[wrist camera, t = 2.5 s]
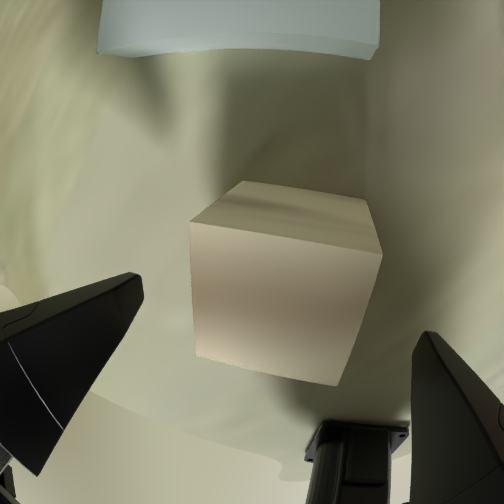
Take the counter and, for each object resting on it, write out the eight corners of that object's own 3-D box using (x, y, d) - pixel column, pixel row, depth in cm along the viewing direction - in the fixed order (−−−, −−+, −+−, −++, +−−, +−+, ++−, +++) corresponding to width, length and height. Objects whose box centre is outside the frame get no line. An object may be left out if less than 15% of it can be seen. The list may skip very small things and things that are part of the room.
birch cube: (341, 303, 13) (337, 386, 9) (237, 283, 14) (196, 355, 10) (365, 199, 11) (383, 254, 7) (242, 180, 12) (189, 221, 8)
